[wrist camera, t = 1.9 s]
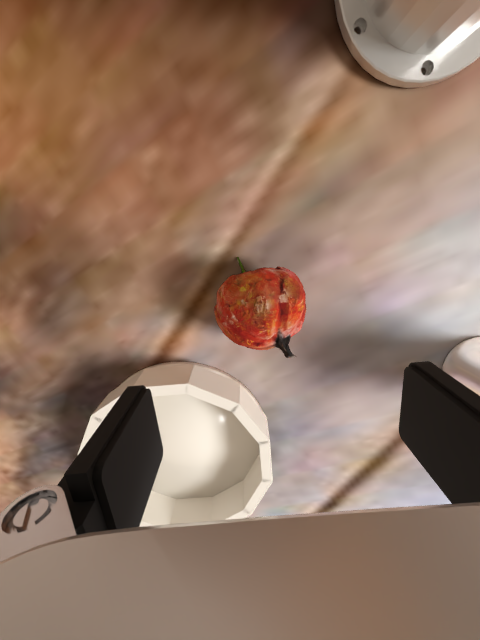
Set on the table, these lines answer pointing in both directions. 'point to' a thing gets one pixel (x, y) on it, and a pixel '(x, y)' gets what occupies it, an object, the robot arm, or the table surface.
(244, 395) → the fruit bowl
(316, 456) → the table surface
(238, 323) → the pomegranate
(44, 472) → the table surface
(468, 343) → the beer glass
